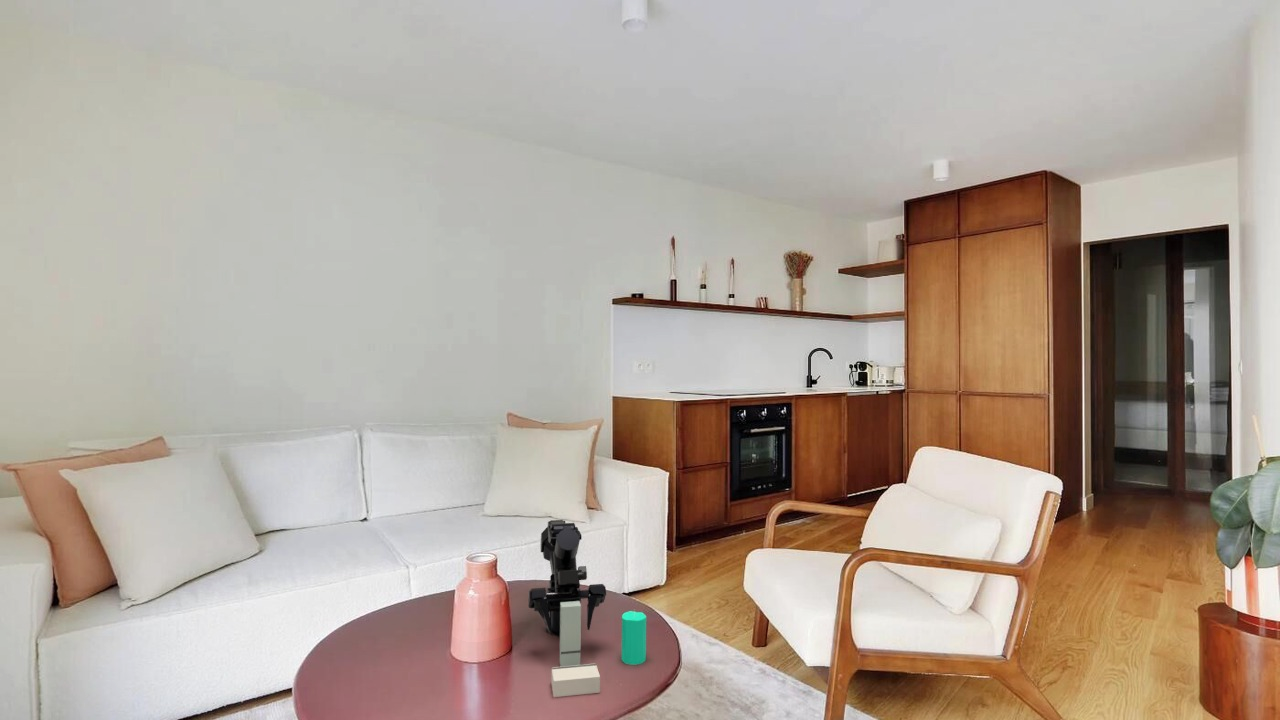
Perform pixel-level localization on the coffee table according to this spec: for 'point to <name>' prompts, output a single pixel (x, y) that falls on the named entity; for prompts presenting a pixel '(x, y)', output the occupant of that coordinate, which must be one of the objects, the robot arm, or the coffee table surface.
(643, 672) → the coffee table surface
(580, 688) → the block
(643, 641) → the candle
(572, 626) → the pale green upright box
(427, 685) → the coffee table surface
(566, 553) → the robot arm
